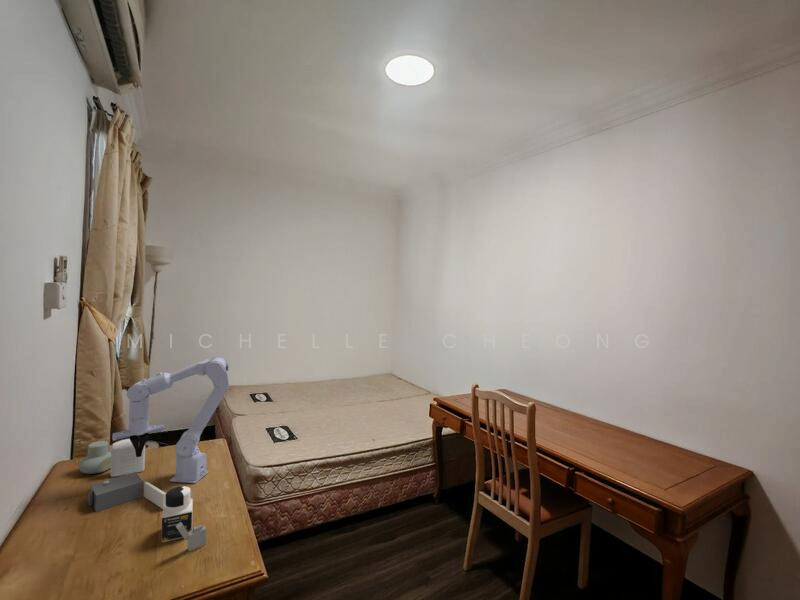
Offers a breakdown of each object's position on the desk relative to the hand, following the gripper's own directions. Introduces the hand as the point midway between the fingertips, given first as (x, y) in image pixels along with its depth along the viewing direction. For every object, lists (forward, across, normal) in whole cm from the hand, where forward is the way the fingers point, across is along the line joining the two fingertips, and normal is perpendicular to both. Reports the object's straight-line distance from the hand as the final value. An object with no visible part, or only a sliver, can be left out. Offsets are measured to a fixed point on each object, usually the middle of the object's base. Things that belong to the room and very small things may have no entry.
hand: (138, 455), depth 131 cm
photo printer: (+10, -2, +11) cm, 14 cm away
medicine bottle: (+10, +6, -38) cm, 40 cm away
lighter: (+10, +7, -48) cm, 50 cm away
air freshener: (+10, -11, +19) cm, 24 cm away
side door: (+9, +3, -18) cm, 20 cm away
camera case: (+9, -6, -8) cm, 14 cm away
